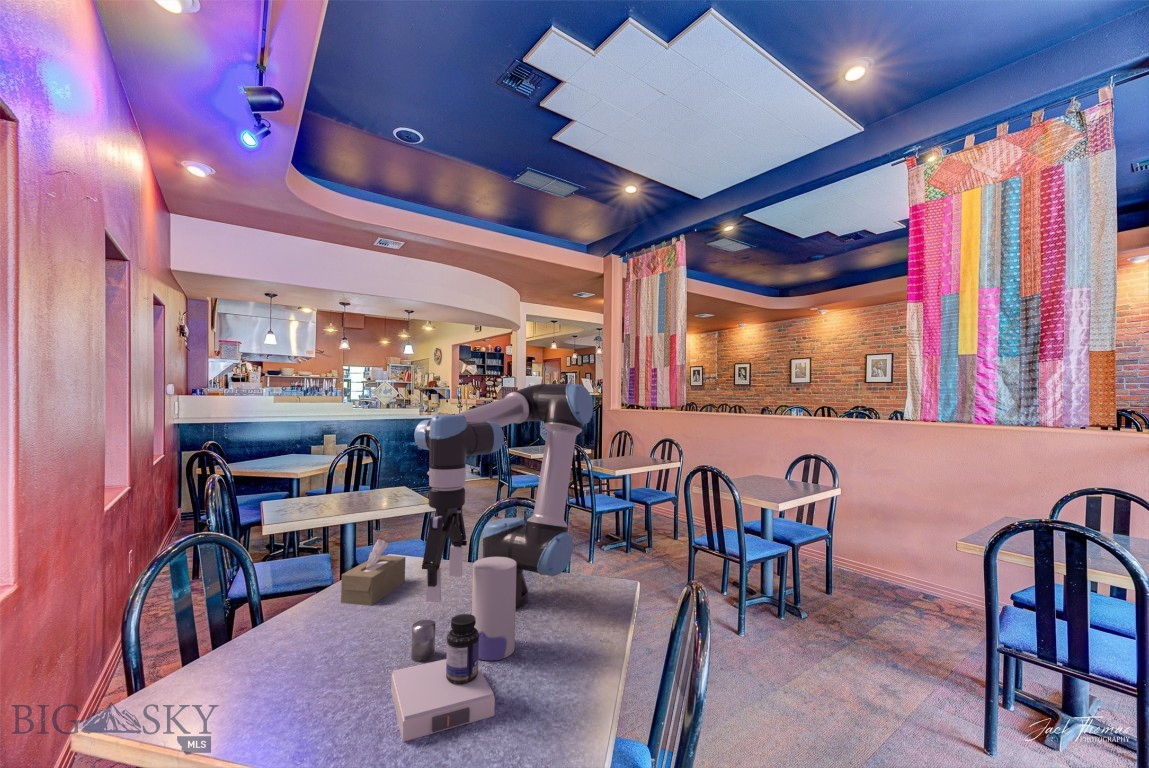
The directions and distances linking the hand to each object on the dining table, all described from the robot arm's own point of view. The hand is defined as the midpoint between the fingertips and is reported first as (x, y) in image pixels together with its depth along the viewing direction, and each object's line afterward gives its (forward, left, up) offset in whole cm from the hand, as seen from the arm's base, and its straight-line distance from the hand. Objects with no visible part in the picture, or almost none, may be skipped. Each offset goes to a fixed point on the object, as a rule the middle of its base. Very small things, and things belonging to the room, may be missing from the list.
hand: (445, 587), depth 103 cm
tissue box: (+9, -53, -18) cm, 57 cm away
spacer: (+3, -9, -18) cm, 20 cm away
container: (-12, -5, -18) cm, 23 cm away
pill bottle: (-1, +10, -14) cm, 17 cm away
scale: (+3, +10, -18) cm, 21 cm away
